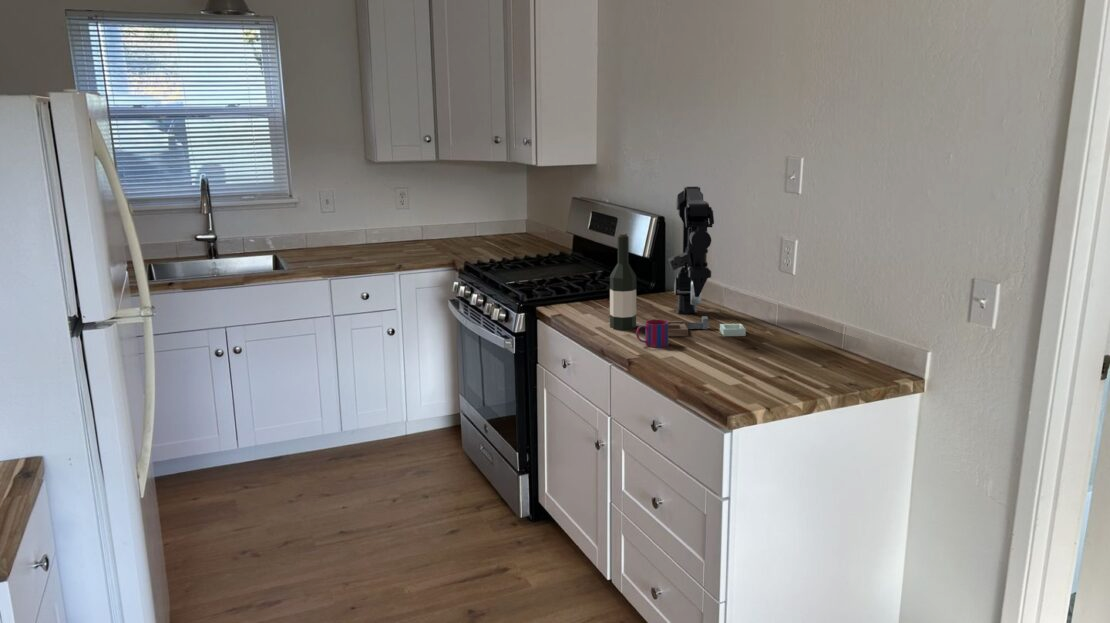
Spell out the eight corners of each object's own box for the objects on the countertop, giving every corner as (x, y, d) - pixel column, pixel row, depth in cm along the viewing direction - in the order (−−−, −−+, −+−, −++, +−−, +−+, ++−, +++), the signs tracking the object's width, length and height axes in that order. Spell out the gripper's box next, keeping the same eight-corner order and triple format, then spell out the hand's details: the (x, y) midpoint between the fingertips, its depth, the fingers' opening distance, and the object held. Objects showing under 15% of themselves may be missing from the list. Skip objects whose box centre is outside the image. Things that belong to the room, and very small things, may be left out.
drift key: (670, 327, 259) (670, 317, 258) (706, 326, 258) (706, 316, 258) (671, 329, 256) (671, 319, 255) (708, 329, 256) (708, 318, 255)
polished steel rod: (689, 302, 251) (690, 280, 250) (700, 302, 251) (700, 280, 250) (691, 304, 248) (691, 282, 247) (701, 304, 248) (702, 282, 246)
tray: (719, 330, 254) (719, 324, 254) (740, 330, 254) (741, 323, 254) (723, 336, 248) (723, 329, 248) (745, 335, 248) (745, 329, 247)
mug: (671, 346, 239) (672, 323, 237) (639, 349, 236) (639, 326, 235) (663, 340, 245) (663, 318, 243) (631, 343, 242) (631, 321, 241)
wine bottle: (636, 323, 265) (636, 231, 258) (636, 330, 257) (636, 235, 250) (610, 323, 265) (610, 232, 258) (609, 330, 257) (609, 235, 250)
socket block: (657, 327, 260) (657, 321, 259) (683, 326, 260) (683, 320, 259) (661, 336, 249) (661, 330, 249) (688, 336, 249) (688, 329, 249)
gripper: (667, 240, 255) (666, 289, 259) (673, 250, 237) (672, 302, 240) (703, 240, 254) (702, 289, 258) (712, 249, 236) (710, 302, 240)
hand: (696, 295), depth 249 cm, fingers closed on polished steel rod, 3 cm apart
